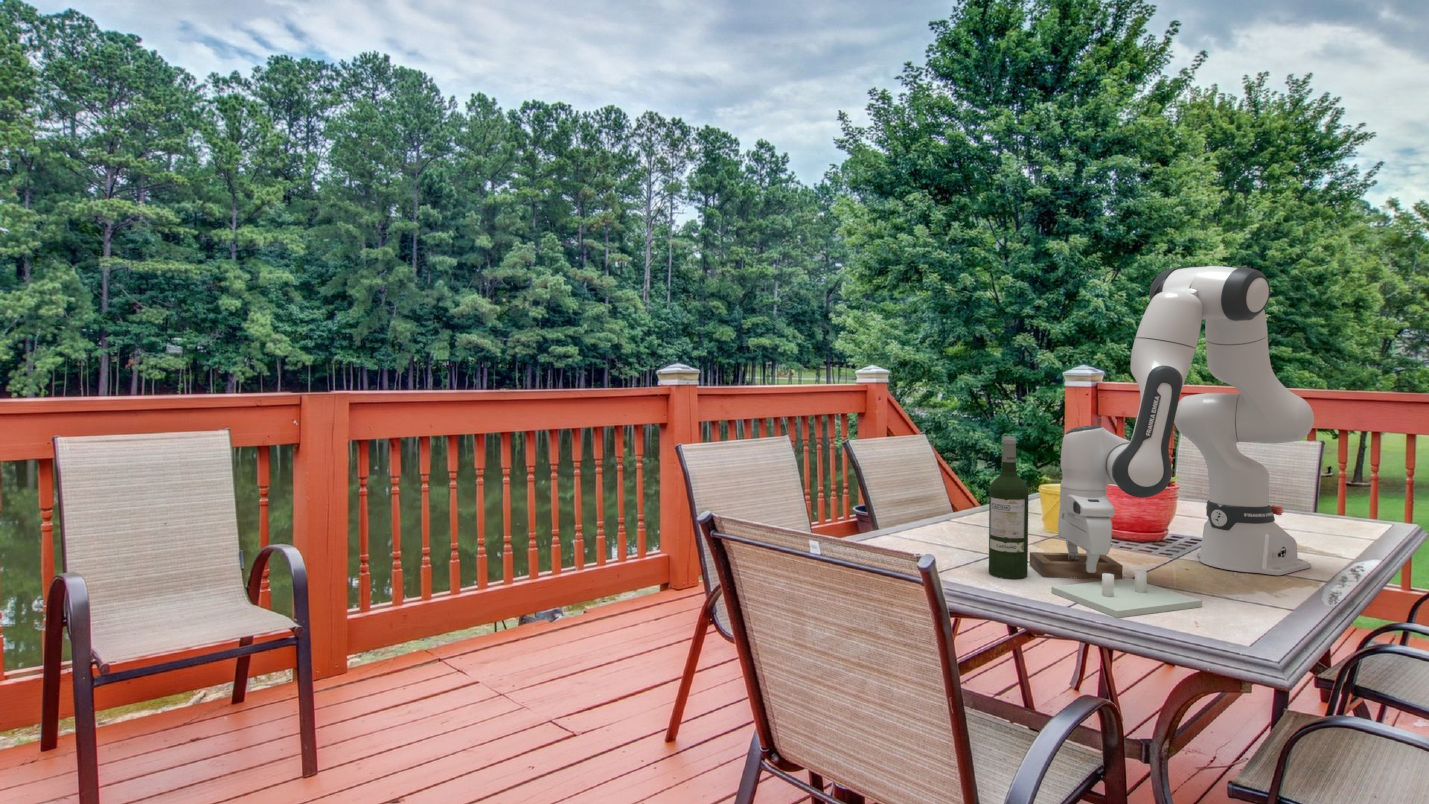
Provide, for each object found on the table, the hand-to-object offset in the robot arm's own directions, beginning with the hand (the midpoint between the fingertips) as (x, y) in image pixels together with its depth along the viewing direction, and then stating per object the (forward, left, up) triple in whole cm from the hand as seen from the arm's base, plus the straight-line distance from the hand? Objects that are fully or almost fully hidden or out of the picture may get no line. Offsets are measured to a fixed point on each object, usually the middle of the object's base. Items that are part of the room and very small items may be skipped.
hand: (1081, 566), depth 158 cm
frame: (-2, -4, -3) cm, 5 cm away
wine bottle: (+13, -7, -3) cm, 15 cm away
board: (+4, +15, -3) cm, 16 cm away
